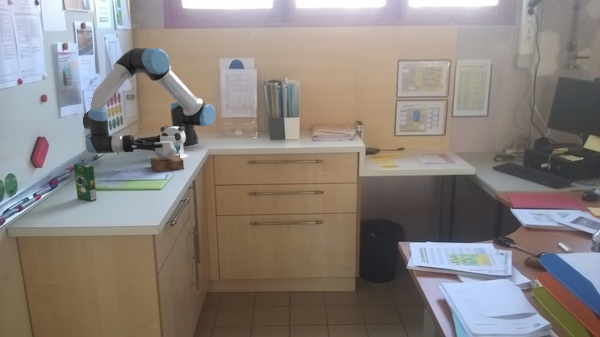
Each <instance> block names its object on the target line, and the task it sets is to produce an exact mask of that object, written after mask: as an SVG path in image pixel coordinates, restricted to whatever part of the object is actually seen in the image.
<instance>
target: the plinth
mask: <svg viewBox="0 0 600 337" xmlns="http://www.w3.org/2000/svg"><path fill="white" fill-rule="evenodd" d="M150 166H151V168H152V169H153V170H154V171H155V173H159V172H158V171H163V172H170V171H169V170H171V171H178V170H179V171H180V170H184V169H185V167H184V166H185V165H184V159H181V158H180V157H179V156H178V155H174V157H173V159H172V160H159V158H158V156H156V157H155V156H154V157H150Z"/></svg>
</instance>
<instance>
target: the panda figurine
mask: <svg viewBox="0 0 600 337" xmlns="http://www.w3.org/2000/svg"><path fill="white" fill-rule="evenodd" d="M184 130H185V127H184V126H182V127H176V126H174V127H172V126H170V127H169V126H168V125H164V126H161V127H160V132H161V135H160V137H166V136H175V142H173V144H174V146H175V148H176V150H177V152H176V154H175V155H178V156H179V157H180V158H181V159H182V160H184V159H187V158H188V157H189V155H188V154H186V153H185V152H184V146H183V144H184V142H185V140H186V135H185V132H184Z"/></svg>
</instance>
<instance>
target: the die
mask: <svg viewBox="0 0 600 337" xmlns="http://www.w3.org/2000/svg"><path fill="white" fill-rule="evenodd" d="M160 142H171V149H155V151H154V152H155V154H156V155H157V156H156V157H158V158H159V160H172V159H173V157H174V155H175V154H176V152H177V150H176V148H175V146H174V144H173V142H172V141H160Z"/></svg>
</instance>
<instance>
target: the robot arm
mask: <svg viewBox="0 0 600 337" xmlns="http://www.w3.org/2000/svg"><path fill="white" fill-rule="evenodd" d="M136 74H145V75H146V76H147V77H148V78H149V79H150V80H151V81H152V82H157V83H158V84H159V86H161V87H162V88H163V89H164V90H165V91H166V93H168V94H169V95H170V96H171V97H172V99H174V100H175V101H173V102H171V104H170V116H171V127H174V126H176V127H182V126H184V127H185V130H184V132H185V135H186V140H185V142H184V144H183V147H184V146H192V145H193V146H194V145H196V144H199V136H198V134H197V131H196V128H195V126H197V127H203V128H204V127H210V126H211V125H213V123H214V122H215V120H216V108H215V106H213V105H212V104H210V103H206V102H205V101H204V100H203V99H202V98H201V97H199V96H196V95H194V94H193V92H191V90H190V89H189V88H188V87H187V86H186V85H185V83H183V81H181V79H180V78H179V77H178V76H177V75H176V74H175V73H174V71H173V70H171V64H170V57H169V56H168V54H167V52H165V51H164V50H163V49H160V48H157V47H134V48H132V49H129V50H127V51H126V52H125V53H123V54H122V55H121V56H120V58H118V59H117V61H115V63H114V64H113V65H112V70H110V72H109V73H108V75H107V76H106V77H105V78H104V79H103V80H102V81H101V82H100V84H99V85H98V86H97V87H96V88H95V90H94V91H93V92H94V94H93V97H92V102H91V109H90V110H89V111H88V112H87V113H85V114H84V117H83V125H84V128H85V129H84V130H89V131H90V136H87V137H86V138H85V149H86V151H87V153H89V154H99V155H101V154H112V153H113V154H115V153H116V154H117V155H119V154H120V153H133V152H135V151H134V150H141V151H142V150H144V151H152V152H155V149H171V142H160V141H172V142H175V136H166V137H161V134H158V135H155V136H146V137H137V139H134V138H135V137H134V136H133V135H132V134H125V135H122V134H121V135H120V134H119V135H110V131H109V121H108V120H109V117H108V113H107V109H105V108H104V107H105V106H106V105H107V103H108V102H109V101H110V100H111V99H112V97H113V96H114V95H115V94H116V92H118V91H119V89H121V87H122V86H123V84H125V82H126V81H127V80H131V78H132V77H133V76H135V75H136Z"/></svg>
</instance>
